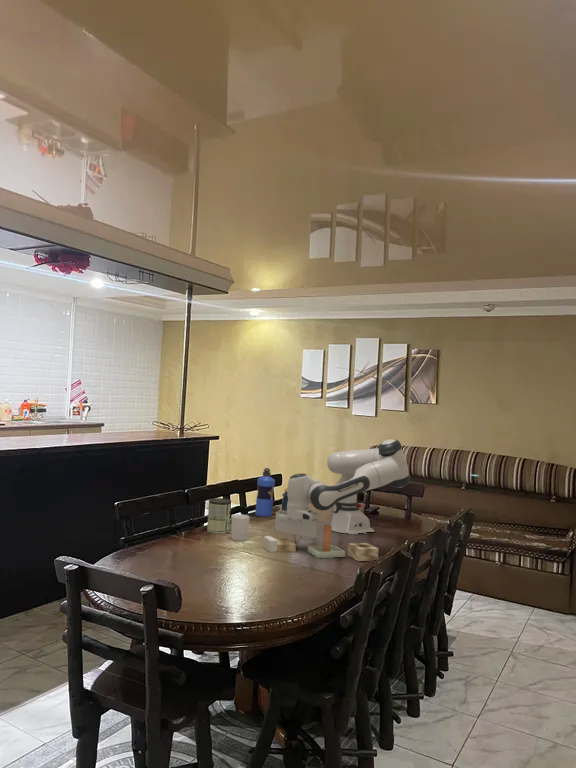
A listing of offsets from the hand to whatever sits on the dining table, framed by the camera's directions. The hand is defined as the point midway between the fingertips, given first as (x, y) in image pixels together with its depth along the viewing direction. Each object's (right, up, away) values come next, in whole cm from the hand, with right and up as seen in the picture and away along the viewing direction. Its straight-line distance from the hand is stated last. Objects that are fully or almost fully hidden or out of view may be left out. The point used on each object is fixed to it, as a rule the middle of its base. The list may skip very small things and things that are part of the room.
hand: (296, 545), depth 243 cm
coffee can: (-36, 0, +22) cm, 42 cm away
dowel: (+12, -1, -7) cm, 14 cm away
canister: (-1, -4, +66) cm, 66 cm away
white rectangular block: (-11, 0, -5) cm, 12 cm away
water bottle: (-16, -3, +67) cm, 69 cm away
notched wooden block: (-5, -1, -2) cm, 5 cm away
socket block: (+27, -3, -8) cm, 28 cm away
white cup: (-25, 0, +9) cm, 26 cm away
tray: (+12, -2, -7) cm, 14 cm away
